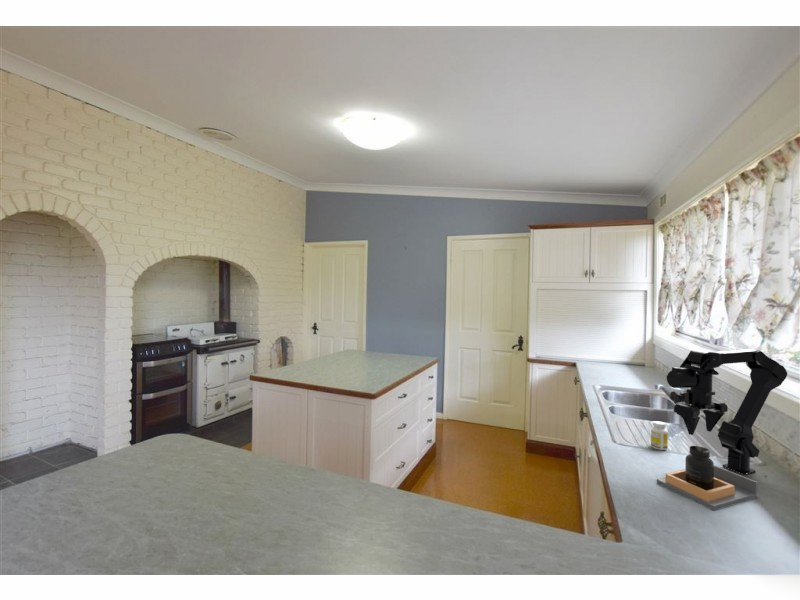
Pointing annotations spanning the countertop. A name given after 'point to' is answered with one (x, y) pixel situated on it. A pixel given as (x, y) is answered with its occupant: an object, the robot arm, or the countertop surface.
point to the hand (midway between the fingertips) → (700, 432)
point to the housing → (725, 490)
